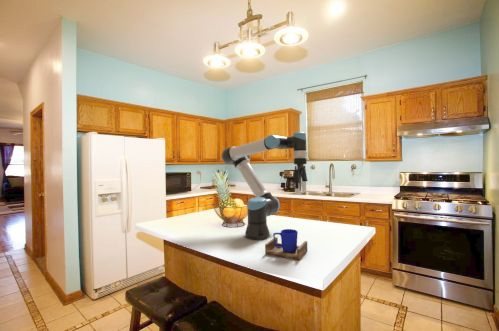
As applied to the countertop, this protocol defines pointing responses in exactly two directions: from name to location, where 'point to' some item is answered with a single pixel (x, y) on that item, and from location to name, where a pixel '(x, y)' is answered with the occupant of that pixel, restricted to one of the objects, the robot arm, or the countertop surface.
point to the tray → (274, 251)
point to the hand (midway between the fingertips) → (300, 192)
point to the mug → (288, 240)
